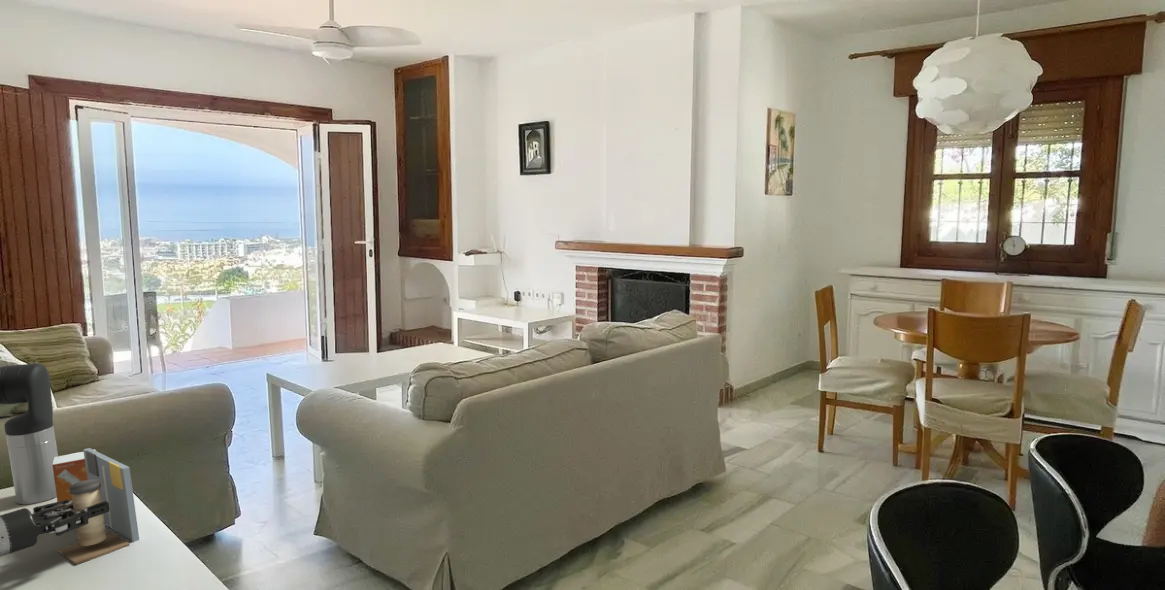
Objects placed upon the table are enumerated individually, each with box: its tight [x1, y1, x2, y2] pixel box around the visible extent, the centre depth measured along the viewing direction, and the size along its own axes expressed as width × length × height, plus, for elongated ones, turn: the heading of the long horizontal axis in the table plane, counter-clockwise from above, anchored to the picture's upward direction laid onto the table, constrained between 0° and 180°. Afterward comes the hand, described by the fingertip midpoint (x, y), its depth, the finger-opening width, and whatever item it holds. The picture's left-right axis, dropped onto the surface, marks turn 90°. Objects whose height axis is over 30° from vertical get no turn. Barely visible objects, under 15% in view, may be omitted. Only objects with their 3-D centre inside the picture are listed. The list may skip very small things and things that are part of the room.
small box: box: [53, 449, 97, 502], centre depth 164 cm, size 8×6×13 cm
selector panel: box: [82, 447, 140, 543], centre depth 154 cm, size 22×2×16 cm, turn 53°
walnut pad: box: [57, 530, 130, 566], centre depth 146 cm, size 10×10×1 cm
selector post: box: [69, 479, 107, 546], centre depth 145 cm, size 5×5×12 cm
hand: (102, 503), depth 147 cm, fingers closed on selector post, 4 cm apart
